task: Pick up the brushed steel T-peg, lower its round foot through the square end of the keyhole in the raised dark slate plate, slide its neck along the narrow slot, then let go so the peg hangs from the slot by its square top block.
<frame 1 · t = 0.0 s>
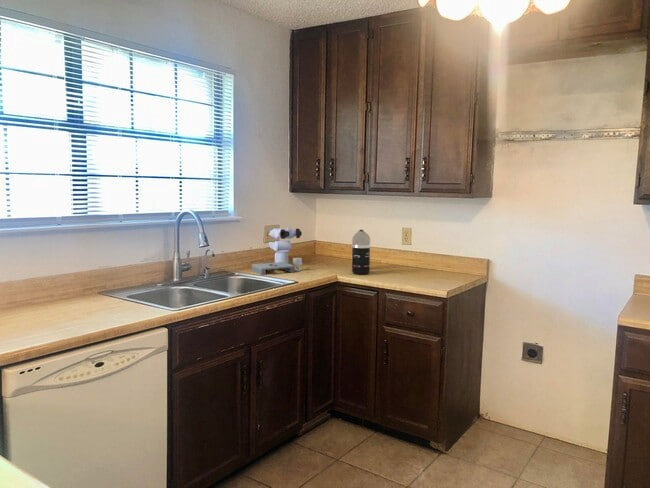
hand: (294, 233, 303), 22 cm above the counter, tool horizontal, fingers open, 7 cm apart
peg: (297, 270, 307), on the counter
keyhole plate: (273, 271, 303), on the counter
black and grey bottle: (360, 273, 298), on the counter
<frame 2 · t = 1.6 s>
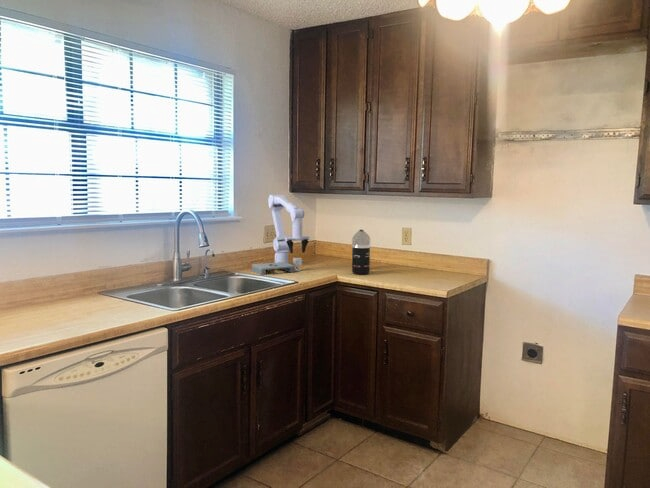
hand: (297, 252, 306), 10 cm above the counter, tool pointing down, fingers open, 7 cm apart
nothing on the counter moved.
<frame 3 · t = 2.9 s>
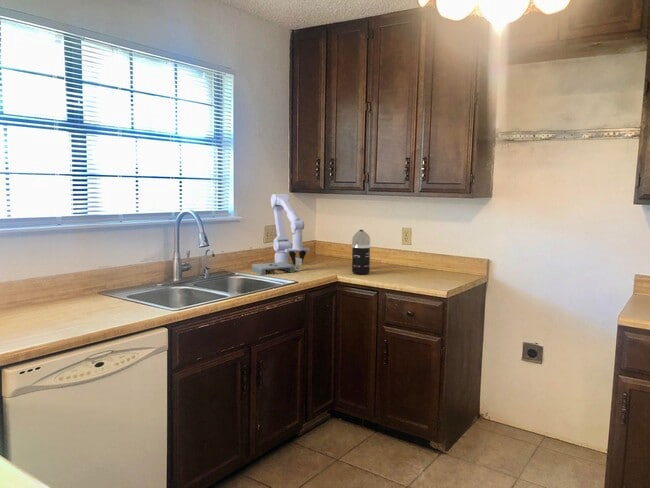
hand: (297, 264, 307), 4 cm above the counter, tool pointing down, fingers closed on peg, 4 cm apart
peg: (297, 270, 307), on the counter, touching gripper
everything else where it was.
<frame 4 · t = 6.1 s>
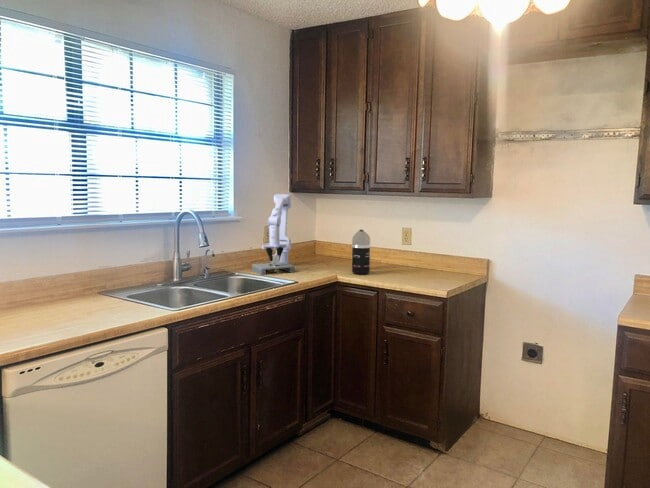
hand: (274, 260, 300), 7 cm above the counter, tool pointing down, fingers closed on peg, 4 cm apart
peg: (274, 267, 301), point 3 cm above the counter, touching gripper
everything else where it was.
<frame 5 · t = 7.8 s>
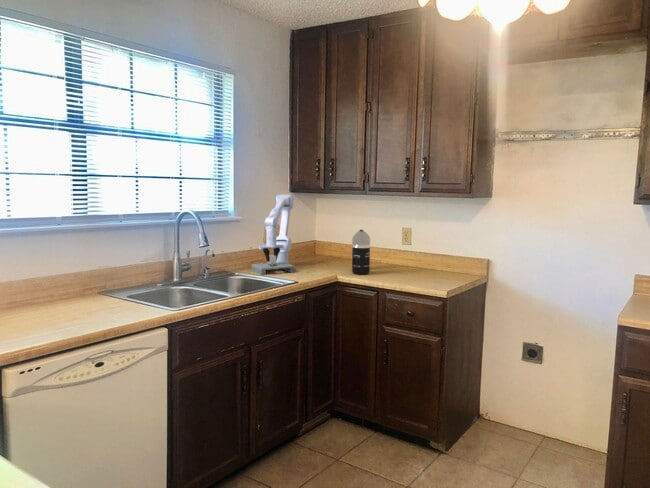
hand: (271, 261, 305), 6 cm above the counter, tool pointing down, fingers closed on peg, 4 cm apart
peg: (271, 267, 305), point 2 cm above the counter, touching gripper
everything else where it was.
when the fingers open (6 cm above the counter, at t = 9.2 s): peg drops 1 cm, resting on keyhole plate.
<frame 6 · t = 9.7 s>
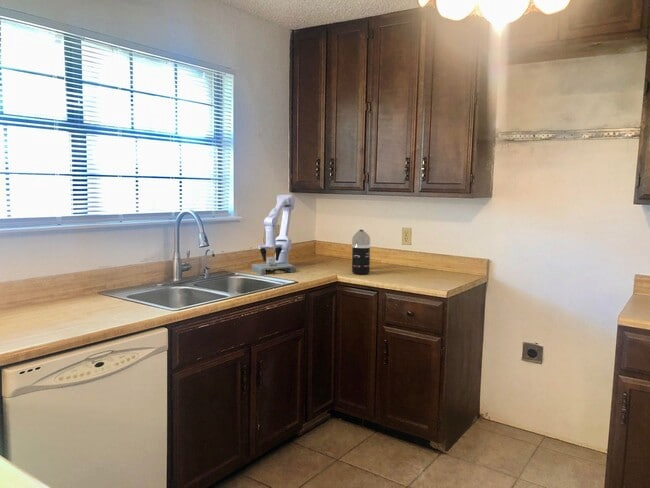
hand: (270, 260, 306), 6 cm above the counter, tool pointing down, fingers open, 7 cm apart
peg: (270, 269, 306), resting on keyhole plate
everything else where it was.
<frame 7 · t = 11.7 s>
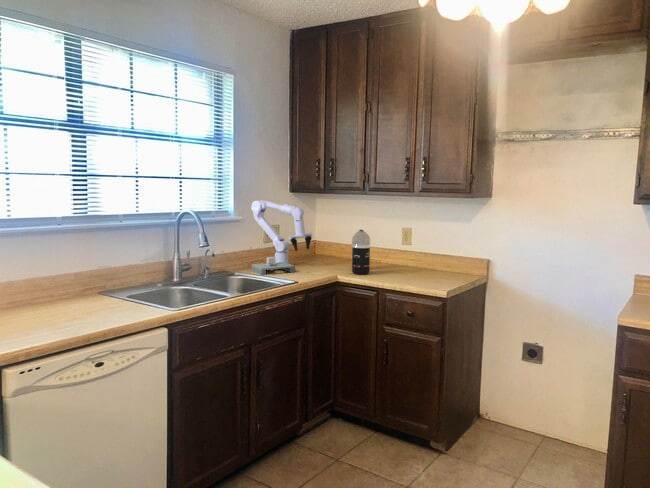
hand: (302, 249, 317), 11 cm above the counter, tool pointing down, fingers open, 7 cm apart
nothing on the counter moved.
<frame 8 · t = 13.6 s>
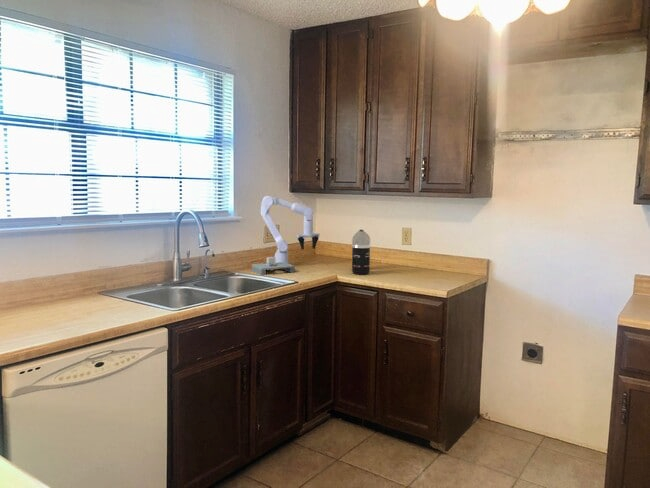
hand: (308, 249, 323), 10 cm above the counter, tool pointing down, fingers open, 7 cm apart
nothing on the counter moved.
at the end: peg 0.5 cm from the target spot on the keyhole plate, point 0.5 cm above the keyhole plate's base; peg touching keyhole plate; peg tilted 0° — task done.
